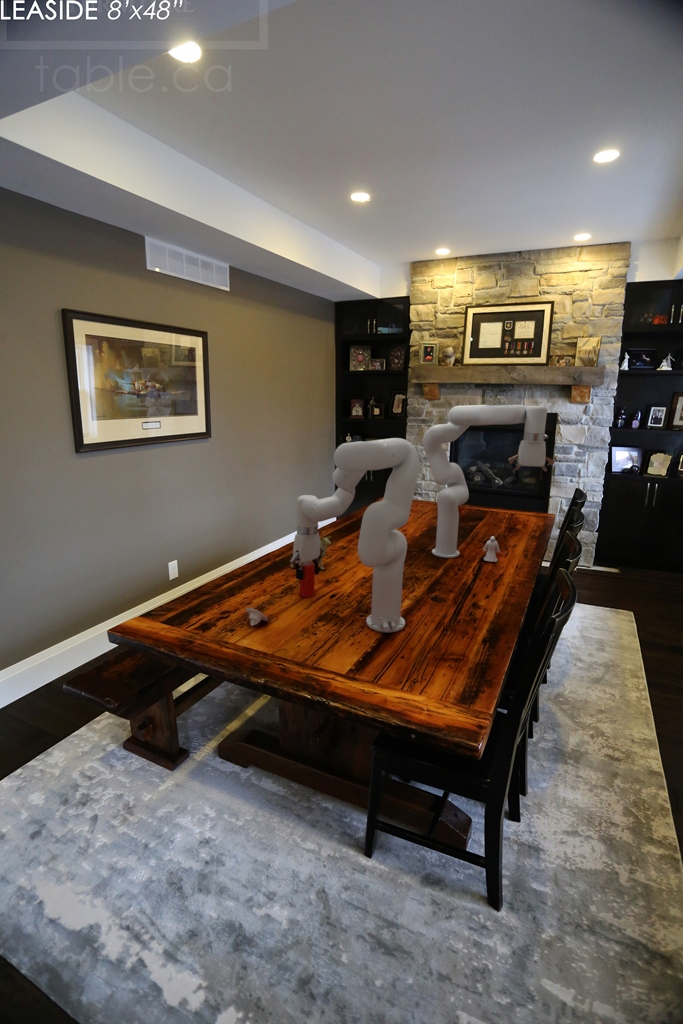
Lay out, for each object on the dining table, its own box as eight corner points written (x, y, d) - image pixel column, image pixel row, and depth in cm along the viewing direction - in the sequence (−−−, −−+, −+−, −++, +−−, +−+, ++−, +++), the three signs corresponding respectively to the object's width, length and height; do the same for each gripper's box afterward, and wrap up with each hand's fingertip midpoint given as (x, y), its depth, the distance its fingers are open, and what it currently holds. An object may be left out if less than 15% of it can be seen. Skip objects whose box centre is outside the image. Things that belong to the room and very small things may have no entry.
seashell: (251, 634, 162) (235, 615, 161) (262, 623, 165) (246, 604, 164) (262, 630, 156) (245, 610, 155) (273, 618, 159) (257, 599, 158)
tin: (311, 590, 188) (311, 560, 185) (316, 596, 183) (316, 565, 181) (298, 592, 186) (298, 562, 183) (303, 598, 181) (303, 567, 178)
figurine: (481, 562, 222) (483, 536, 219) (482, 556, 230) (484, 531, 227) (499, 564, 220) (501, 538, 217) (499, 558, 228) (501, 533, 225)
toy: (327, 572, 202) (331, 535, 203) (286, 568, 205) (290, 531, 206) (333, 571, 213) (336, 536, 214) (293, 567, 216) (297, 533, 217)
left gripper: (316, 523, 187) (315, 567, 192) (282, 532, 174) (282, 580, 179) (331, 527, 183) (330, 572, 187) (297, 537, 170) (297, 585, 174)
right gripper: (554, 437, 200) (549, 479, 204) (509, 436, 203) (505, 477, 207) (559, 439, 193) (553, 483, 197) (512, 437, 195) (508, 480, 200)
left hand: (307, 575), depth 183 cm, fingers open, 7 cm apart
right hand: (528, 480), depth 202 cm, fingers open, 9 cm apart
